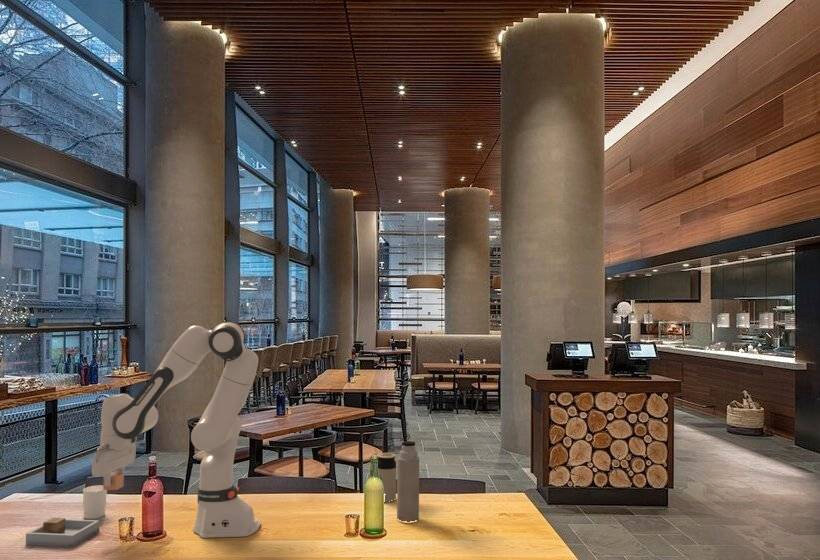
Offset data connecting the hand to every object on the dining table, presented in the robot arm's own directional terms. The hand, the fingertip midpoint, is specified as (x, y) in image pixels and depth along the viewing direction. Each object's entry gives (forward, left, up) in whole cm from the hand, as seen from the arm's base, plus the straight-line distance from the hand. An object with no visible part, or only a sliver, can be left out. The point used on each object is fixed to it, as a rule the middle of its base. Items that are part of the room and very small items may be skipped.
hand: (113, 482), depth 203 cm
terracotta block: (0, 0, -2) cm, 2 cm away
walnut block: (+17, +6, -16) cm, 24 cm away
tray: (+13, +6, -17) cm, 22 cm away
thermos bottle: (-99, -24, -17) cm, 103 cm away
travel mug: (-88, -46, -17) cm, 101 cm away
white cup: (+16, -15, -17) cm, 28 cm away
